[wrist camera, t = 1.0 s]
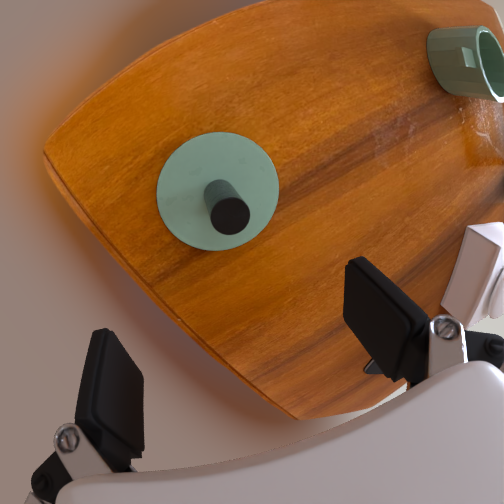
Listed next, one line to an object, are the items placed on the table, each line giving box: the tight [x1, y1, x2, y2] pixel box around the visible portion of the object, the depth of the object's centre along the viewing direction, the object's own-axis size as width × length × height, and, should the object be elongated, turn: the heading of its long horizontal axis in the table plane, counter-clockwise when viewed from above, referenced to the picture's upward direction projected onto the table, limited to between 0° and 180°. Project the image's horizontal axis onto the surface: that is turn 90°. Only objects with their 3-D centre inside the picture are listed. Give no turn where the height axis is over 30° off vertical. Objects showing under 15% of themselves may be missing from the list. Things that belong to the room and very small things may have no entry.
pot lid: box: [156, 132, 279, 251], centre depth 22 cm, size 11×11×7 cm
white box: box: [440, 222, 504, 330], centre depth 36 cm, size 18×18×16 cm
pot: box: [427, 25, 504, 102], centre depth 19 cm, size 10×16×8 cm, turn 107°
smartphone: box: [364, 359, 383, 374], centre depth 48 cm, size 8×1×15 cm
